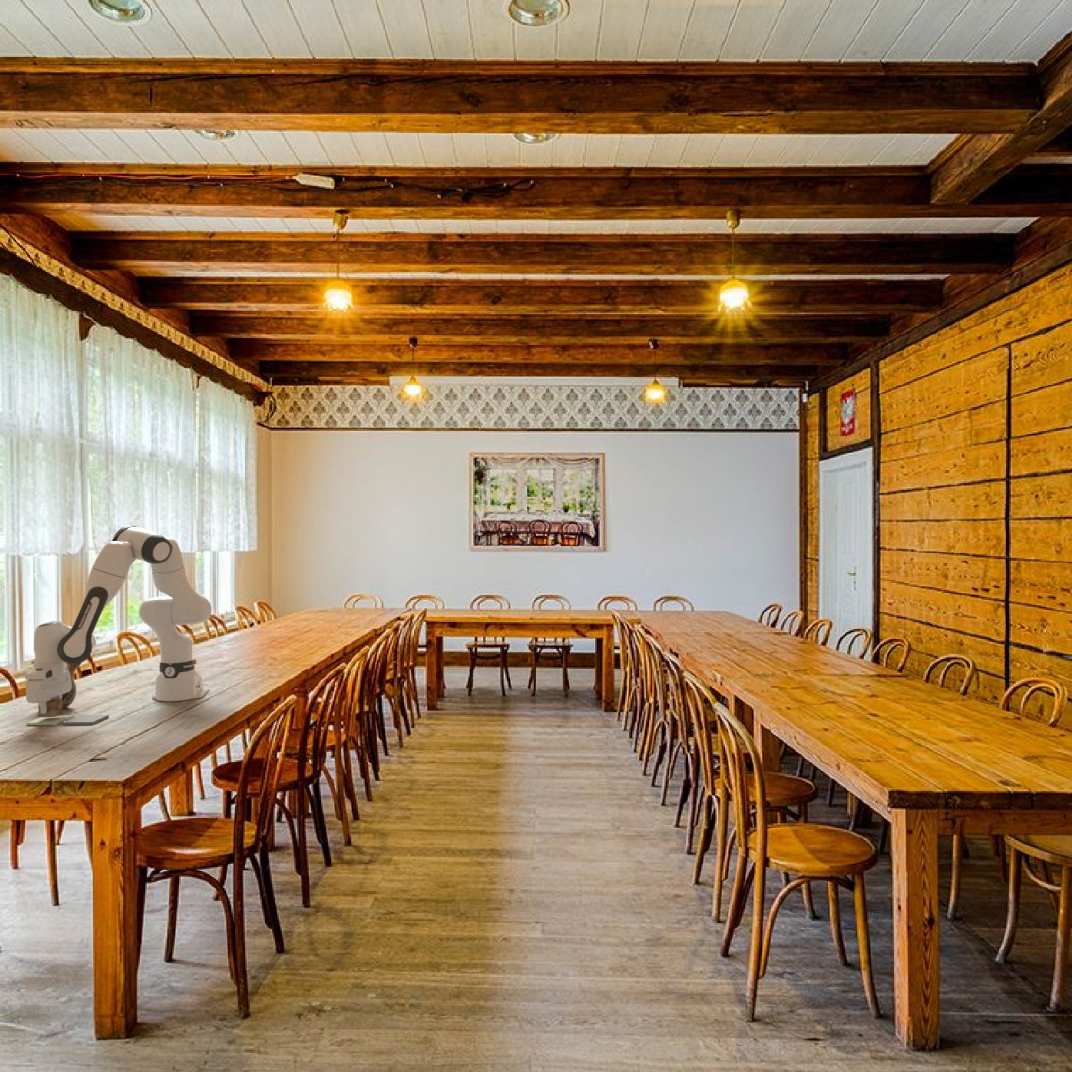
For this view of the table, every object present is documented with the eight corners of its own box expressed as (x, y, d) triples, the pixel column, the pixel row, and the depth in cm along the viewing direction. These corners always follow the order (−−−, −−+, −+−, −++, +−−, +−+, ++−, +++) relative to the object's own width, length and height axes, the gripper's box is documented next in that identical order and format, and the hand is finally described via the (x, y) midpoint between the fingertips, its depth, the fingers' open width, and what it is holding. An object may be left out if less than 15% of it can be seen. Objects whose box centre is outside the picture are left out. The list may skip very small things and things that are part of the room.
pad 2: (79, 718, 276) (79, 715, 276) (108, 717, 276) (108, 714, 276) (62, 725, 266) (62, 722, 266) (92, 725, 266) (92, 722, 266)
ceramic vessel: (87, 705, 296) (86, 637, 296) (75, 711, 287) (74, 641, 287) (41, 706, 295) (40, 638, 295) (27, 712, 286) (26, 642, 286)
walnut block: (47, 713, 273) (47, 699, 273) (62, 713, 274) (61, 699, 274) (38, 717, 268) (38, 702, 268) (53, 717, 269) (53, 702, 269)
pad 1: (44, 718, 276) (44, 715, 276) (73, 718, 276) (73, 715, 276) (26, 725, 266) (26, 722, 266) (56, 725, 266) (56, 722, 266)
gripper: (58, 664, 281) (58, 704, 281) (21, 675, 261) (22, 717, 261) (76, 664, 281) (77, 703, 281) (41, 675, 261) (41, 717, 261)
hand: (50, 710), depth 271 cm, fingers closed on walnut block, 5 cm apart
